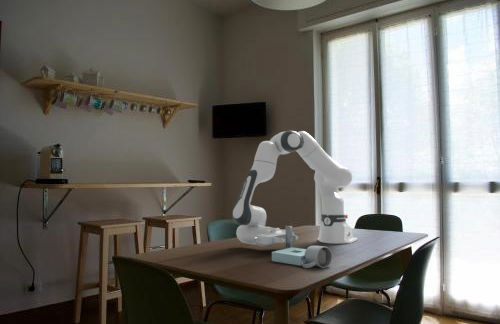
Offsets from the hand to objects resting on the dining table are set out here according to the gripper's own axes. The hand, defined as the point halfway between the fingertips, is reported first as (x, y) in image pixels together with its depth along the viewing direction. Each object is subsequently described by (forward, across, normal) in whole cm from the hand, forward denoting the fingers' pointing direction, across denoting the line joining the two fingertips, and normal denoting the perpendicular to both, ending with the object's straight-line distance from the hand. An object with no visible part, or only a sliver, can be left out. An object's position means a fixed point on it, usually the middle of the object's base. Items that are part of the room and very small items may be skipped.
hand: (290, 239), depth 168 cm
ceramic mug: (+21, -13, +7) cm, 26 cm away
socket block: (+9, -9, +6) cm, 14 cm away
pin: (-1, 0, +6) cm, 7 cm away
